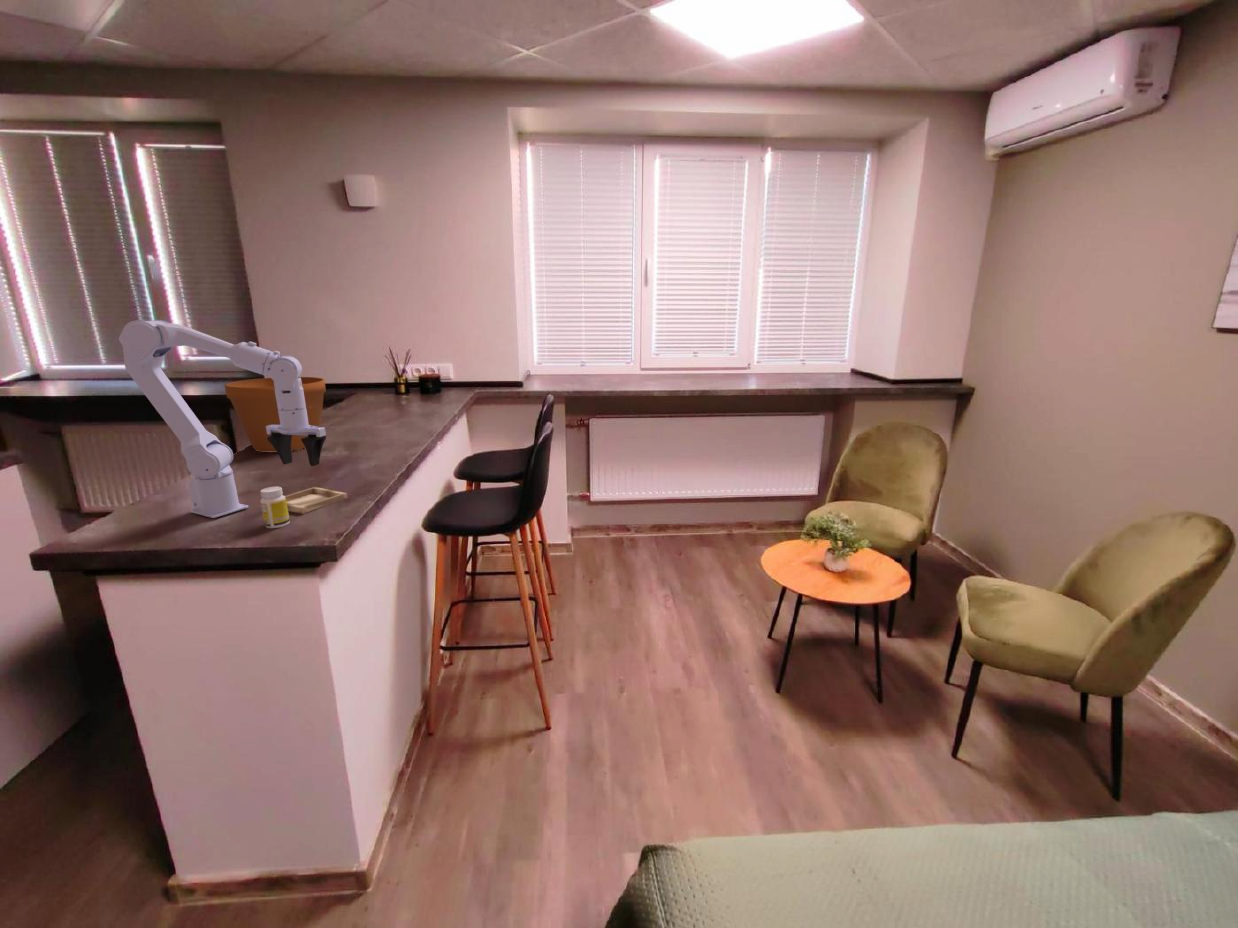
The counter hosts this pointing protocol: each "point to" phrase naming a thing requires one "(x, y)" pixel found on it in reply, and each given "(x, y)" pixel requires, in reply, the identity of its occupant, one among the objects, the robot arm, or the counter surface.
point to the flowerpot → (271, 408)
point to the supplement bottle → (274, 507)
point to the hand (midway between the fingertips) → (301, 464)
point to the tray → (312, 499)
